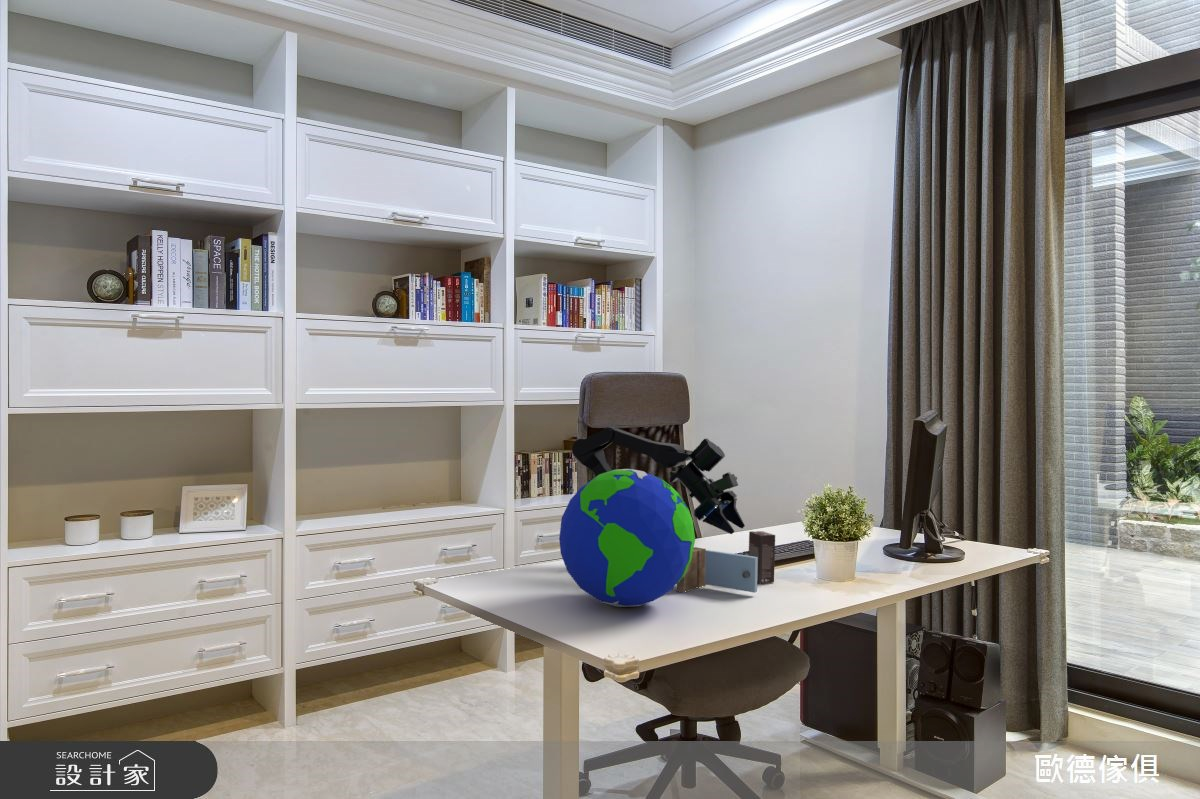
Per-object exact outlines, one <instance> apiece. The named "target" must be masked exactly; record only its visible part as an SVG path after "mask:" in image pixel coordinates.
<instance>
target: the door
mask: <svg viewBox="0 0 1200 799" xmlns="http://www.w3.org/2000/svg"><path fill="white" fill-rule="evenodd" d="M757 569H758V557H753V556H749V555H745V554H739V553H738V554H737V553H732V552H731V553H730V552H724V551H717V550H711V549H706V551H705V584H707V585H706V586H708V585H709V586H715V587H719V588H726V589H732V590H736V591H737V590H738V591H743V592H750V593H753V594H754V593H757V592H758V583H757Z"/></svg>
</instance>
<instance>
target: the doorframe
mask: <svg viewBox="0 0 1200 799" xmlns="http://www.w3.org/2000/svg"><path fill="white" fill-rule="evenodd" d="M706 550H707V548H702V547H696V546H694V548H693V553H692V558H691V562H690V564H689V566H688V569H687V571H686V573H685V575H684V576H683V578H682V579H681V580H680V581H679V582H678V583H677V584H676V592H677V591H680V592H679V593H682V592H685V591H687V592H689V591H688V590H690V591H692V590H691V589H693V590H695V589H694V588H696V587H698V588H696V589H700V588H699V587H701V588H703V587H702V586H704V587H706V586H707V585H706V584H705V551H706ZM685 593H686V592H685Z"/></svg>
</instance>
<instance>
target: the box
mask: <svg viewBox="0 0 1200 799" xmlns="http://www.w3.org/2000/svg"><path fill="white" fill-rule="evenodd" d="M748 533H749V534H748V556H753V557H758V569H757V582H758V583H757V584H759V585H762V584H761V583H769V584H772V583H771V582H774V583H775V562H776V561H775V559H776V558H775V557H776V556H775V555H776V534H773V533H769V532H767V531H763V530H762V531H761V530H759V531H758V530H756V531H755V530H754V531H749V532H748Z"/></svg>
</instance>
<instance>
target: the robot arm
mask: <svg viewBox="0 0 1200 799" xmlns="http://www.w3.org/2000/svg"><path fill="white" fill-rule="evenodd" d="M611 444H614V445H617V446H620V447H623V448H625V449H628V450H631V451H634V452H636V453H639V454H643V455H644V456H646V457H647V456H648V457H649V458H650V459H652V461H654V462H656V464H659V465H661V466H662V467H664V468H668V469H670V468H675V467H678V468H677V469H676V470H673V471H670V472H669V474H670V476H669V482H670V483H674V482H675V483H676V482H677V481H679V482H680V483H681V484H682V485H683V486H684V487H685V489H686V490H687V491H688V492H689V493H690V494H689V497H690V498H691V499H692V498H694V499H696V501H697V503H699V504H698V506H697V507H696V508H695V509H694V510H693V511H694V514H693V516H694V517H695V518H696V519H697V520H698V522H699V521H702V522H703V523H706V524H708V525H710V526H712V527H715V528H716V529H719V530H721V531H724V532H725V533H727V534H730V535H733V534H734V533H735V530H734V528H733V526H732V525H735V526H736V527H738V528H740V529H744V528H745V523H744V520H743V519H742V517H741V515H740V512H739V511H738V509H737V501H738V498H737V497H738V495H737V494H736V493H735V492H734V491H733V490H730V489H732V488H735V487H738V486H739V484H738V477H737V476H735V474H734V473H731V472H730V471H728V472H726V473H723V474H722V478H719V479H717V480H714V479H713V478H707V477H706V475H705V474H704V473H703V472H705V471H706V472H711V471H712V470H713V469H714V468H715V466H717V465H718V464H719V463H720V462H721V461H722V460H724V458H725V457H726V455H725V453H724V451H723V449H722V448H721V447H720V446H719V445H717V444H715V443H714V442H712V441H711V440H710V439H709V438H703V440H701V442H700V443H699V445H698V446H696V448H695V449H694V450H689V449H685V448H684V447H683V446H682V445H680V444H677V443H670V442H660V441H654V440H652V439H648V438H646V437H642V436H640V435H636V434H633V433H632V432H628V431H625V430H623V429H619V428H618V427H616V426H607V427H605V428H603V429H601V430H600V431H597V432H596V433H594V434H591V435H589V436H587V437H583V438H577V439H576V440H575V441H574V442H573V444H572V448H571V453H572V455H573V456H574V458H576V460H577V461H578V462H579V463H580V464H581V465H582V466H584V467H586V468H587V469H588V470H590V471H591V472H592V473H593V474H594V476H595V477H596V476H598V475H600V474H603V473H606V472H609V471H612V470H613V469H612V468H611V466H610V465H609V464H608V461H607V458H606V454H605V451H604V449H605V448H608V446H610V445H611ZM687 461H689V462H688V463H687V464H684V462H687ZM730 523H732V525H731V524H730Z"/></svg>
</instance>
